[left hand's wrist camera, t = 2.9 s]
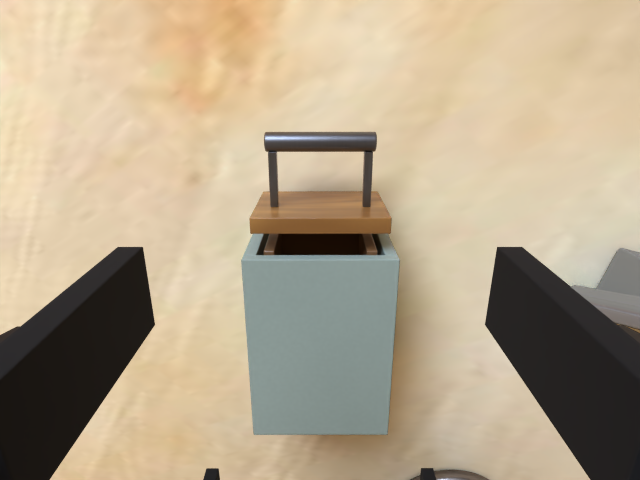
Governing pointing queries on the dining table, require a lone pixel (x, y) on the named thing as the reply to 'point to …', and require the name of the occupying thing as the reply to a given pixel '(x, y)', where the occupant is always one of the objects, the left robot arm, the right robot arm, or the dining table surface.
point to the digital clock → (618, 290)
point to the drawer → (320, 202)
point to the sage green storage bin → (320, 339)
